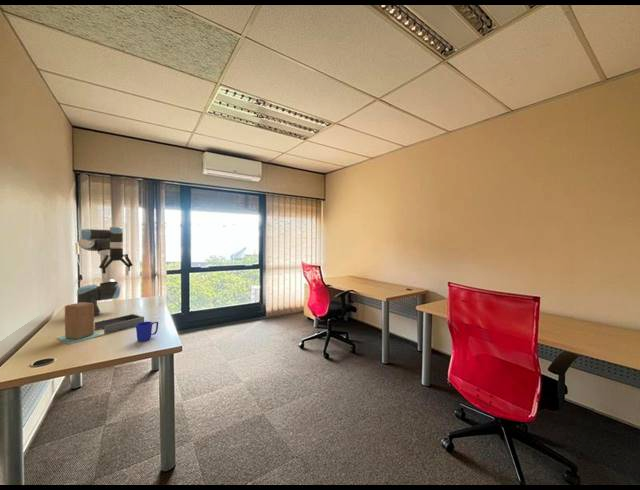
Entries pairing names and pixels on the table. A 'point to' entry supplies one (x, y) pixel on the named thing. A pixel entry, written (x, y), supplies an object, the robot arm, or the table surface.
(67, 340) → the pad
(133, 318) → the chute
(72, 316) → the wooden block
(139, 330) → the mug
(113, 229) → the robot arm
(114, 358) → the table surface
